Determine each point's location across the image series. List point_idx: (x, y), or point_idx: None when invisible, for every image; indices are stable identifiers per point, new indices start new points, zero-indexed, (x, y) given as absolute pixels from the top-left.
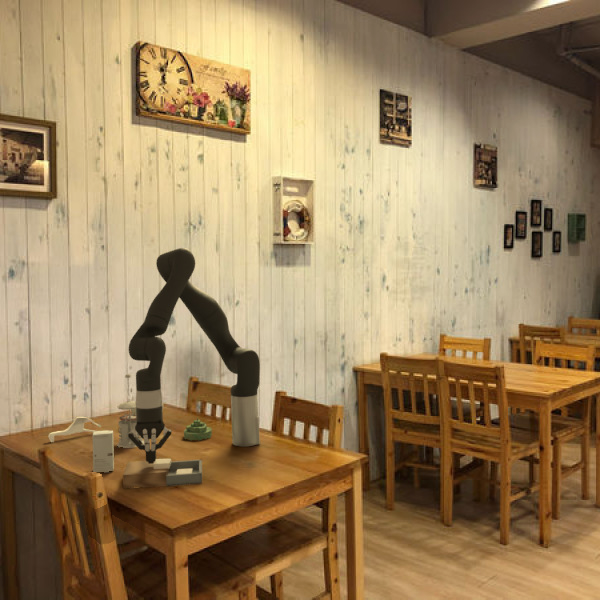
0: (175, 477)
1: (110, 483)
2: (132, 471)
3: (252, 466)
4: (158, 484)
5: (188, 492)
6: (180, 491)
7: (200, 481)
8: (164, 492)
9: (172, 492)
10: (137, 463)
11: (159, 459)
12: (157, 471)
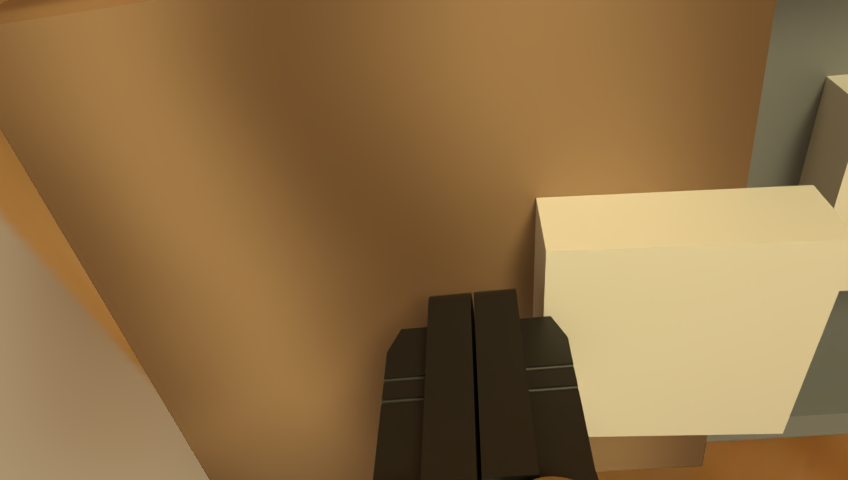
0: None
1: (33, 241)
2: (273, 419)
3: None
4: None
5: (842, 469)
6: (778, 450)
7: None
8: None
9: (707, 459)
10: (185, 135)
11: (620, 274)
12: (592, 446)
